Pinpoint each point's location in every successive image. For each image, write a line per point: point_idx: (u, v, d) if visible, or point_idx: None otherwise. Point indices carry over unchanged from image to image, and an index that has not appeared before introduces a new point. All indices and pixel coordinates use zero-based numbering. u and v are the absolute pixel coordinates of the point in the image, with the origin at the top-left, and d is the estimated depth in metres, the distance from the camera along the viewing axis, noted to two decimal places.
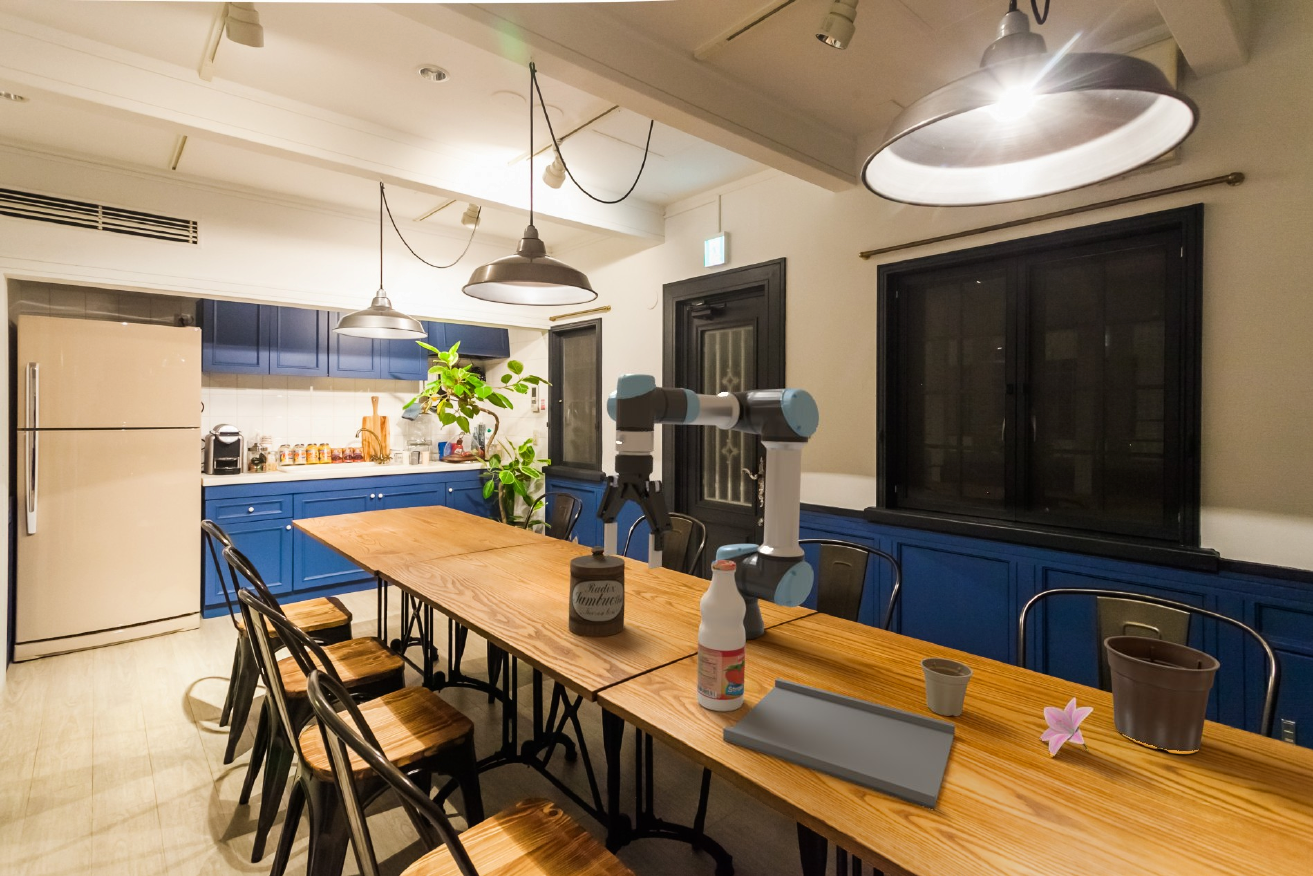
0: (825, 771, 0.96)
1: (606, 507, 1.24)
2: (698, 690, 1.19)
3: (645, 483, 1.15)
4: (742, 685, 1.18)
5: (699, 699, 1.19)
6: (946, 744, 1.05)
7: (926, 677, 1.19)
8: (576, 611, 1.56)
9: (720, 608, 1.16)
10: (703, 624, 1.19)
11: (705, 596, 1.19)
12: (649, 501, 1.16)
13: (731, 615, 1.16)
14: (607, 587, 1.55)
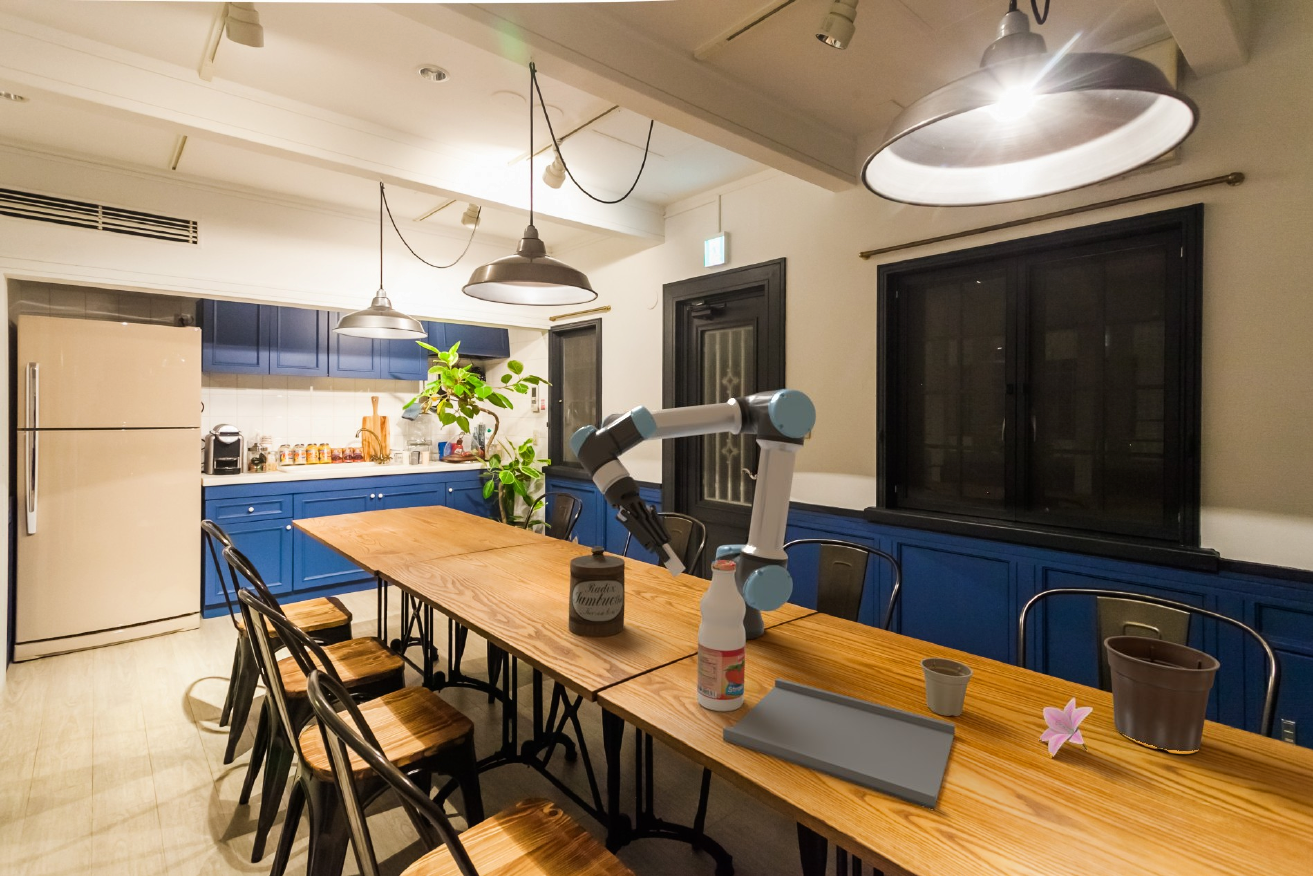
0: (825, 771, 0.96)
1: None
2: (698, 690, 1.19)
3: (620, 511, 1.28)
4: (742, 685, 1.18)
5: (699, 699, 1.19)
6: (946, 744, 1.05)
7: (926, 677, 1.19)
8: (576, 611, 1.56)
9: (720, 608, 1.16)
10: (703, 624, 1.19)
11: (705, 596, 1.19)
12: (640, 522, 1.28)
13: (731, 615, 1.16)
14: (607, 587, 1.55)
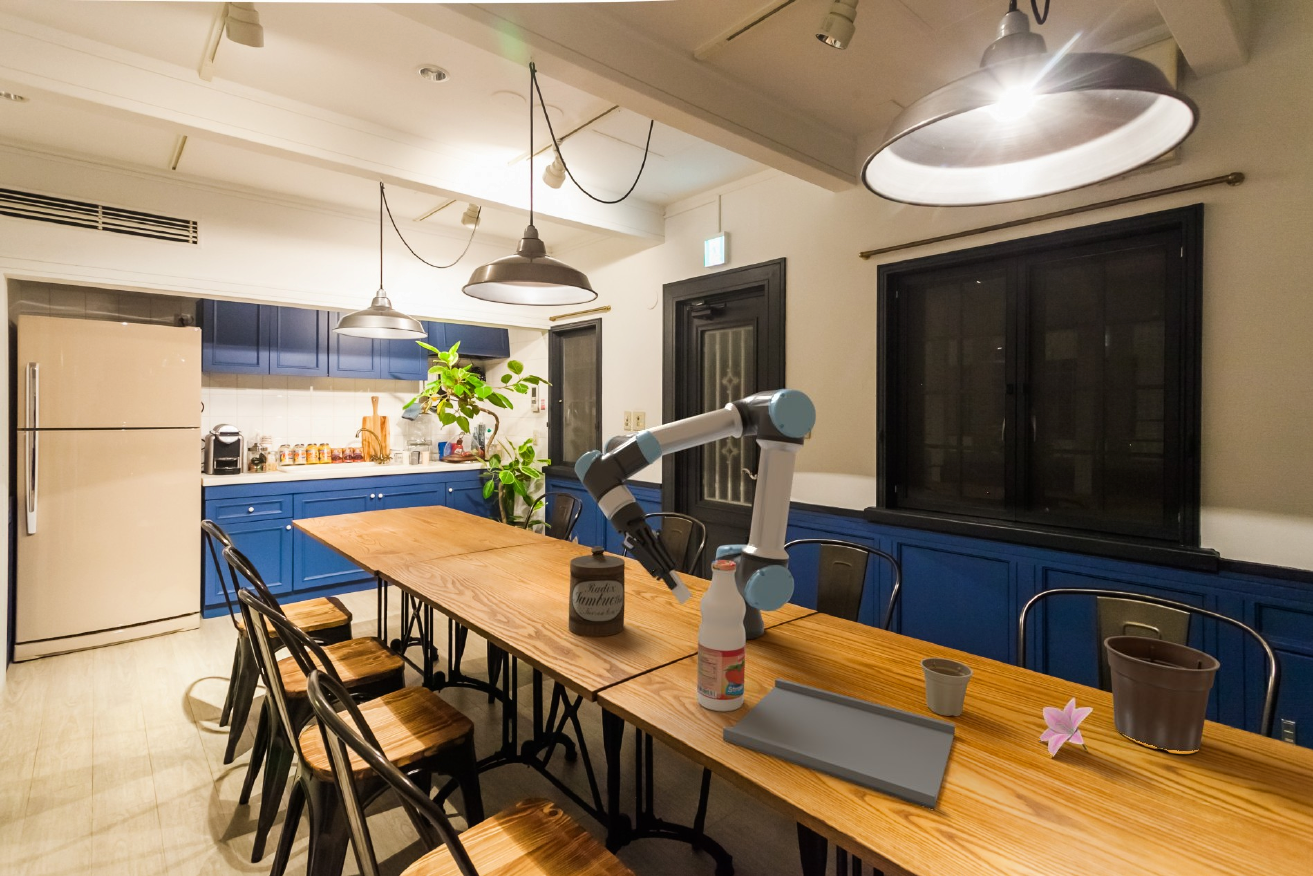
0: (825, 771, 0.96)
1: None
2: (698, 690, 1.19)
3: (626, 538, 1.28)
4: (742, 685, 1.18)
5: (699, 699, 1.19)
6: (946, 744, 1.05)
7: (926, 677, 1.19)
8: (576, 611, 1.56)
9: (720, 608, 1.16)
10: (703, 624, 1.19)
11: (705, 596, 1.19)
12: (646, 548, 1.28)
13: (731, 615, 1.16)
14: (607, 587, 1.55)
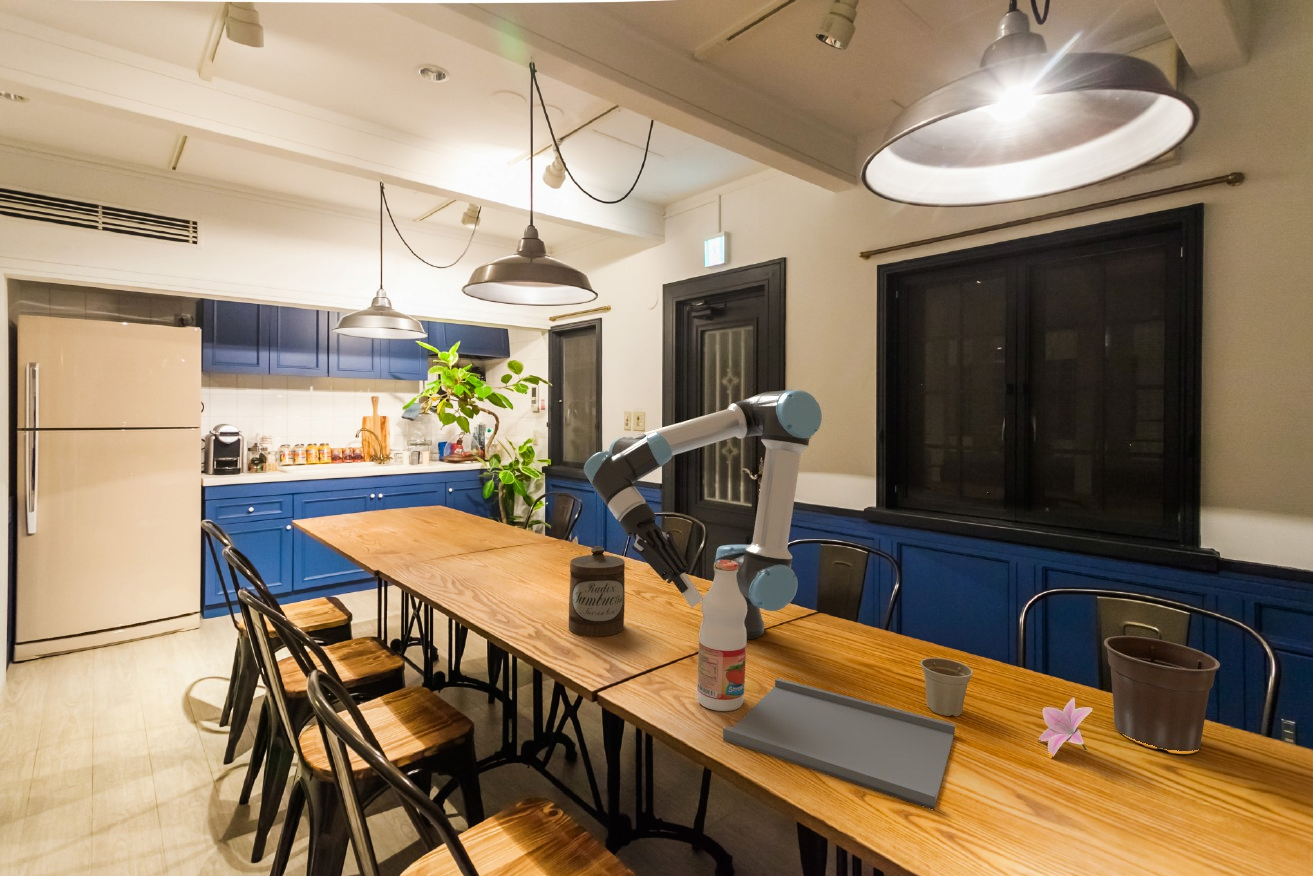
0: (825, 771, 0.96)
1: None
2: (698, 689, 1.19)
3: (636, 540, 1.26)
4: (742, 685, 1.18)
5: (699, 698, 1.19)
6: (946, 744, 1.05)
7: (926, 677, 1.19)
8: (576, 611, 1.56)
9: (721, 608, 1.16)
10: (704, 624, 1.19)
11: (707, 596, 1.19)
12: (656, 551, 1.26)
13: (733, 616, 1.16)
14: (607, 587, 1.55)
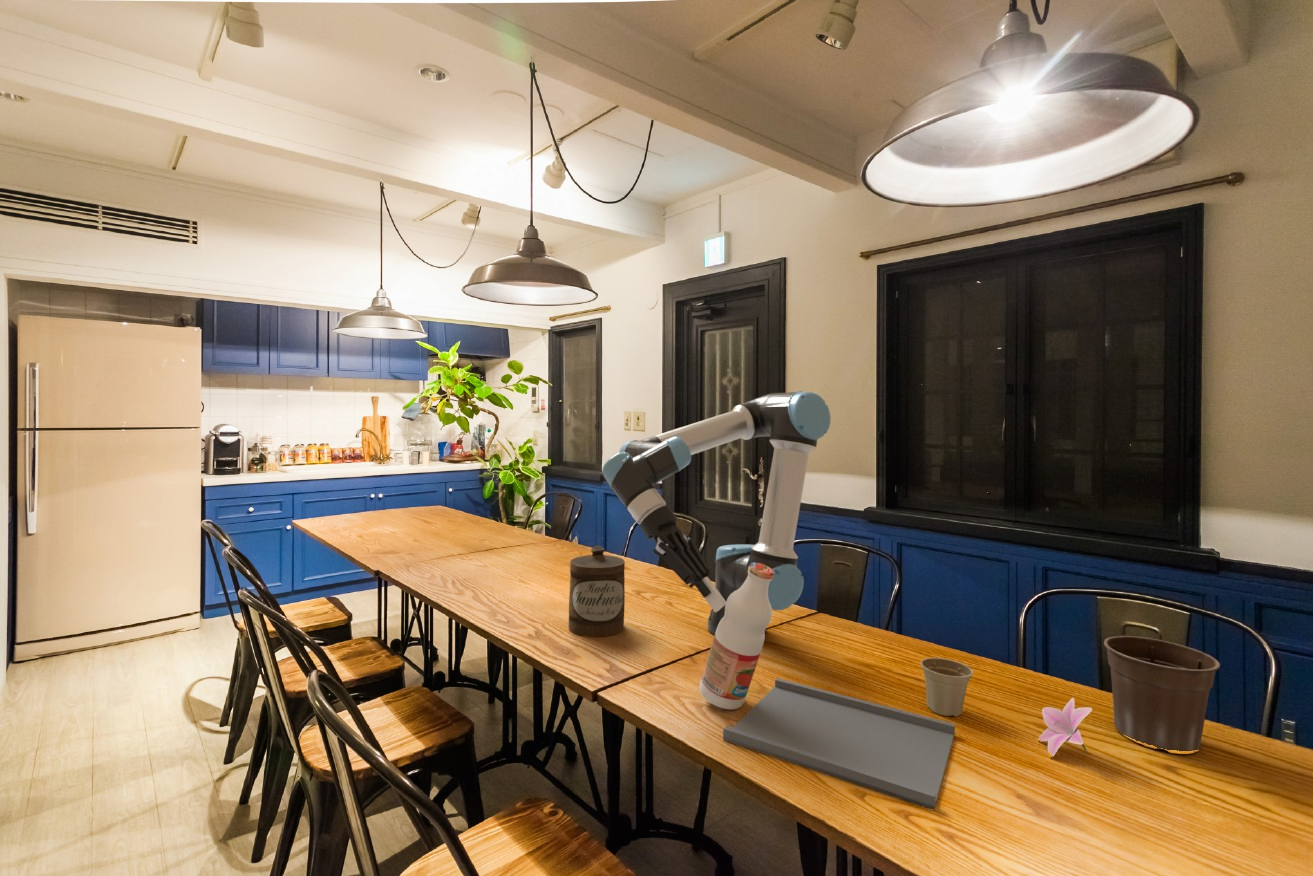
0: (825, 771, 0.96)
1: None
2: (703, 681, 1.19)
3: (658, 543, 1.23)
4: (748, 687, 1.18)
5: (702, 690, 1.18)
6: (946, 744, 1.05)
7: (926, 677, 1.19)
8: (576, 611, 1.56)
9: (748, 614, 1.13)
10: (725, 623, 1.16)
11: (735, 596, 1.16)
12: (678, 554, 1.23)
13: (757, 623, 1.13)
14: (607, 587, 1.55)
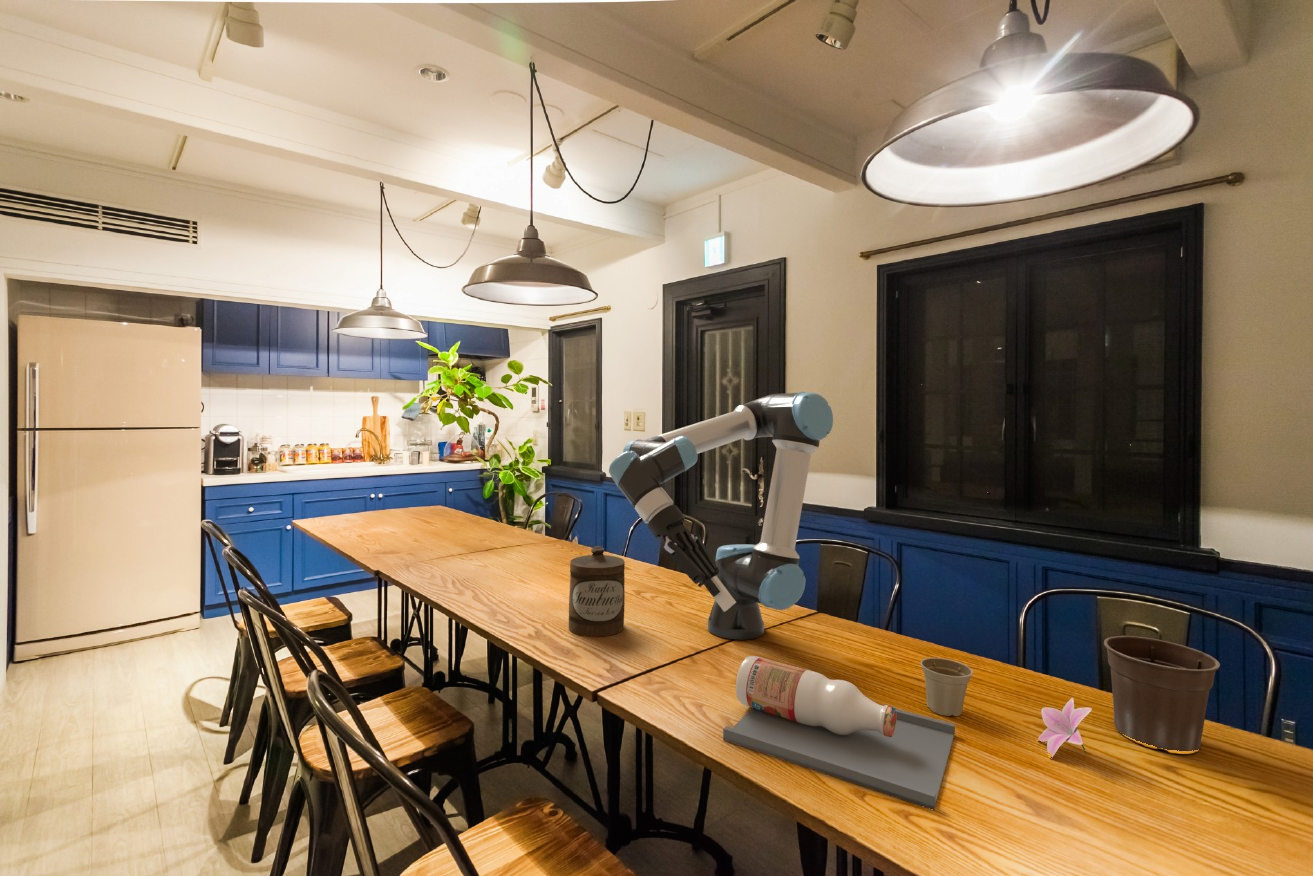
0: (825, 771, 0.96)
1: None
2: (752, 666, 1.15)
3: (666, 542, 1.22)
4: None
5: (744, 668, 1.16)
6: (946, 744, 1.05)
7: (926, 677, 1.19)
8: (576, 611, 1.56)
9: (838, 720, 1.04)
10: (819, 689, 1.08)
11: (851, 697, 1.05)
12: (687, 553, 1.22)
13: (832, 728, 1.05)
14: (607, 587, 1.55)
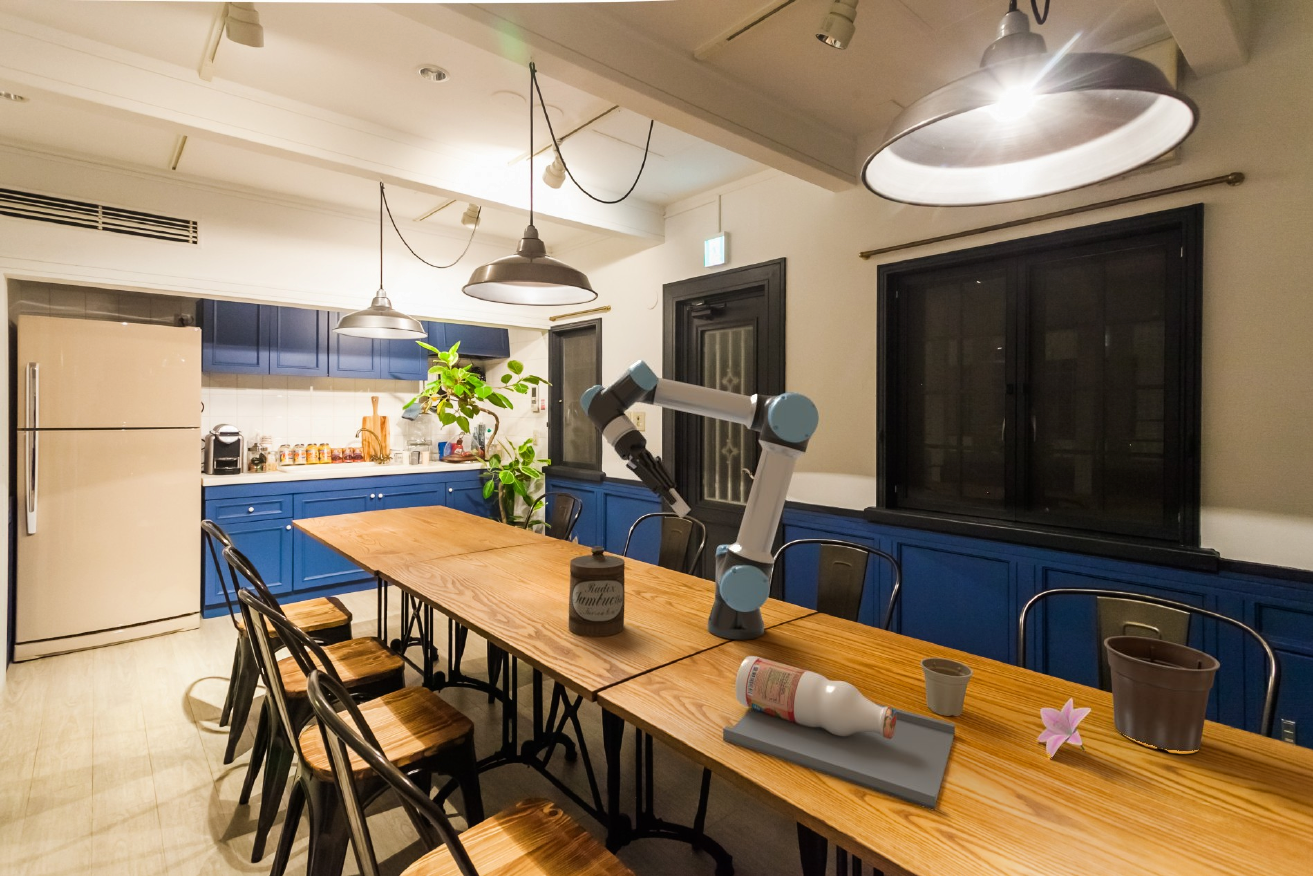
0: (825, 771, 0.96)
1: None
2: (751, 668, 1.15)
3: (630, 460, 1.41)
4: None
5: (743, 669, 1.15)
6: (946, 744, 1.05)
7: (926, 677, 1.19)
8: (576, 611, 1.56)
9: (838, 723, 1.04)
10: (818, 691, 1.07)
11: (850, 700, 1.05)
12: (648, 469, 1.41)
13: (831, 731, 1.05)
14: (607, 587, 1.55)
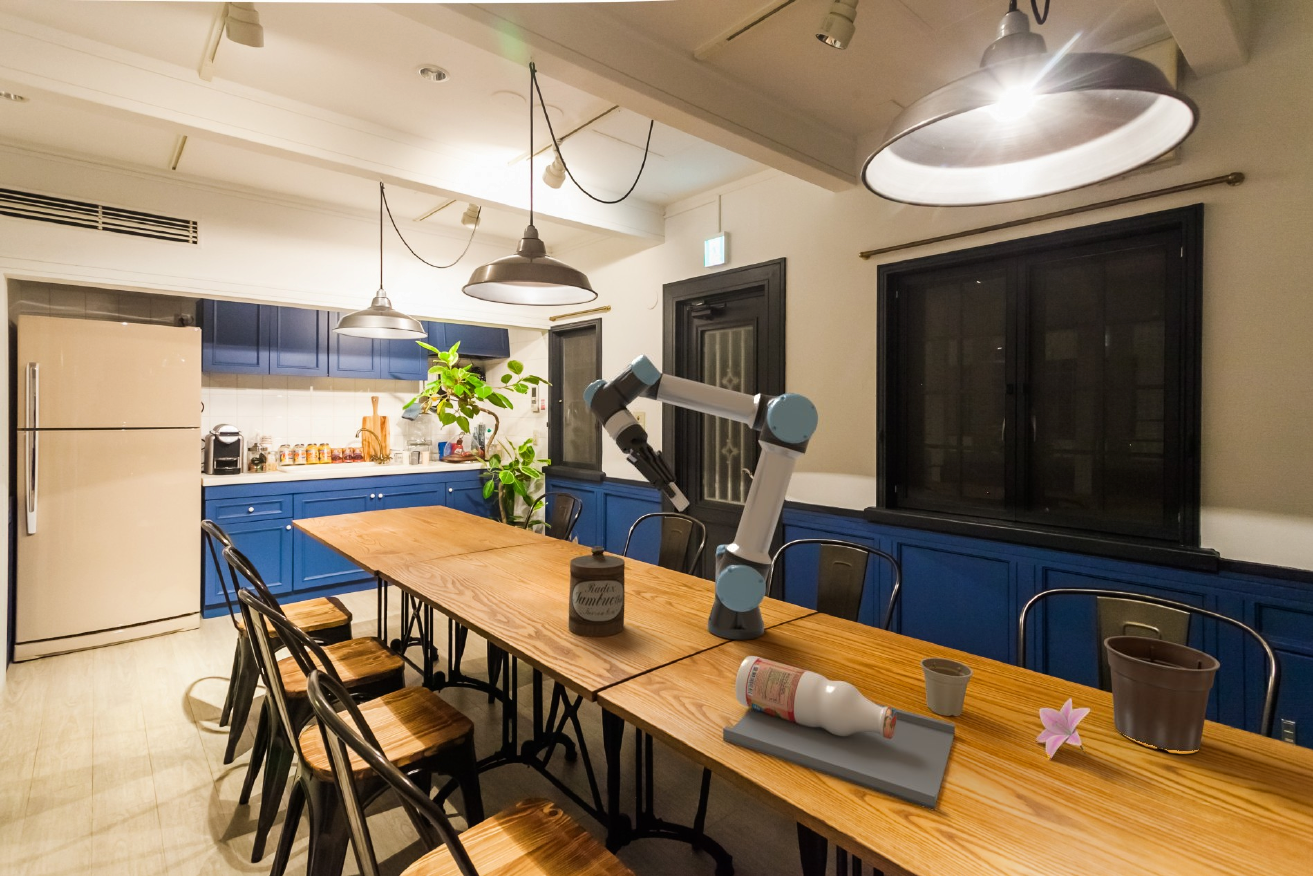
0: (825, 771, 0.96)
1: None
2: (751, 668, 1.15)
3: (630, 454, 1.42)
4: None
5: (743, 669, 1.15)
6: (946, 744, 1.05)
7: (926, 677, 1.19)
8: (576, 611, 1.56)
9: (838, 723, 1.04)
10: (818, 691, 1.07)
11: (850, 700, 1.05)
12: (648, 463, 1.42)
13: (831, 731, 1.05)
14: (607, 587, 1.55)
